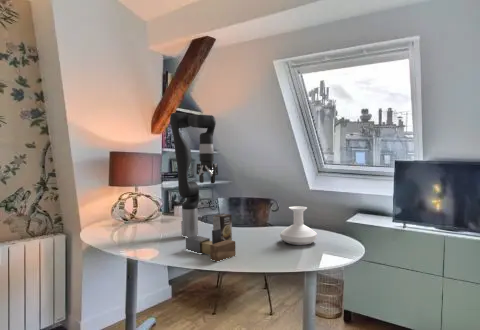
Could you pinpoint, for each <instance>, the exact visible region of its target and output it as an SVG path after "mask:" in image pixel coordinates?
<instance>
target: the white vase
mask: <svg viewBox="0 0 480 330" xmlns="http://www.w3.org/2000/svg"><path fill="white" fill-rule="evenodd" d="M288 209H290V210H291V211H292V212H293V224H291V225H289V226H287V227H286V228H284V229H283V230H281V232H280V233H279V235H280V239H281V240H283V242H285V243H287V244H289V245H295V246H304V245H310V244H313V242H315V241H316V240H317V239H318V233H317V232H316V231H315V230H313V229H312V228H310V227H309V226H307V225H305V224H304V212H305V211H306V210H307V209H308V207H307V206H302V205H301V206H298V205H295V206H289V207H288Z"/></svg>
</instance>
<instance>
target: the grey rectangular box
mask: <svg viewBox="0 0 480 330" xmlns="http://www.w3.org/2000/svg"><path fill="white" fill-rule="evenodd" d="M207 240H208V241H211V238H210V237H204V236H200V235H198V236H192V237H188V238H185V250H186V249H188V250H191V251H194V252H197V253H201V242H203V241H207Z"/></svg>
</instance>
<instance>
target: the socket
mask: <svg viewBox="0 0 480 330" xmlns="http://www.w3.org/2000/svg"><path fill="white" fill-rule="evenodd" d="M235 255H236V241H235V240H232V241H231V240H225V241H222V242H218V243H215V244H212V245H210V255H209V256H210V259H212V260H215V261H214V262H216V261H220V260H223V259H226V258H228V259H230V258H229V257H231V258H233V257H232V256H234V257H236V256H235ZM210 259H209V260H210ZM212 260H211V261H212ZM226 260H227V259H226ZM223 261H224V260H223ZM220 262H221V261H220Z"/></svg>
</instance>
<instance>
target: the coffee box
mask: <svg viewBox="0 0 480 330" xmlns="http://www.w3.org/2000/svg"><path fill="white" fill-rule="evenodd" d="M232 215H233V214H231V213H221V214H217V215H212V230H216V229H221V242H222V241H225V240H231V241H233V230H232V229H233V226H232V225H233V223H232V222H233V221H232V219H233V218H232Z"/></svg>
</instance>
